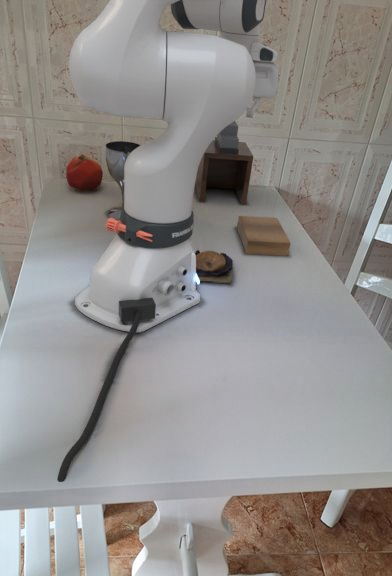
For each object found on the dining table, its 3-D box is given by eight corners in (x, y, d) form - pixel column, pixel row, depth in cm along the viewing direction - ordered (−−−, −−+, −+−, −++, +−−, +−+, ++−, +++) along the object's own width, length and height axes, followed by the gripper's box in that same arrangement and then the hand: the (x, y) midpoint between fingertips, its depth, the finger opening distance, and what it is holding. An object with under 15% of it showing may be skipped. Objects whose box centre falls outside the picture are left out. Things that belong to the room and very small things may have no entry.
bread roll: (233, 285, 91) (236, 268, 89) (188, 281, 91) (190, 263, 89) (231, 259, 100) (233, 242, 97) (189, 255, 99) (191, 238, 97)
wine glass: (104, 208, 115) (102, 141, 105) (137, 207, 117) (138, 141, 108) (109, 221, 109) (108, 152, 100) (144, 220, 111) (146, 152, 102)
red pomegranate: (96, 181, 128) (94, 149, 123) (109, 193, 122) (108, 160, 117) (61, 184, 124) (58, 151, 119) (73, 197, 118) (71, 163, 113)
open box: (245, 204, 125) (253, 156, 118) (199, 201, 124) (204, 152, 116) (238, 187, 134) (245, 142, 127) (195, 185, 133) (199, 138, 126)
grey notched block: (214, 141, 125) (217, 118, 121) (232, 143, 125) (235, 119, 122) (219, 153, 117) (222, 128, 113) (238, 154, 117) (241, 130, 114)
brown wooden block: (287, 255, 103) (290, 242, 101) (246, 253, 102) (248, 240, 100) (274, 230, 114) (277, 217, 112) (236, 228, 112) (238, 215, 111)
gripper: (193, 45, 105) (187, 114, 113) (285, 54, 108) (273, 122, 116) (190, 42, 110) (186, 109, 118) (278, 51, 113) (268, 116, 121)
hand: (229, 115), depth 117 cm, fingers open, 8 cm apart
